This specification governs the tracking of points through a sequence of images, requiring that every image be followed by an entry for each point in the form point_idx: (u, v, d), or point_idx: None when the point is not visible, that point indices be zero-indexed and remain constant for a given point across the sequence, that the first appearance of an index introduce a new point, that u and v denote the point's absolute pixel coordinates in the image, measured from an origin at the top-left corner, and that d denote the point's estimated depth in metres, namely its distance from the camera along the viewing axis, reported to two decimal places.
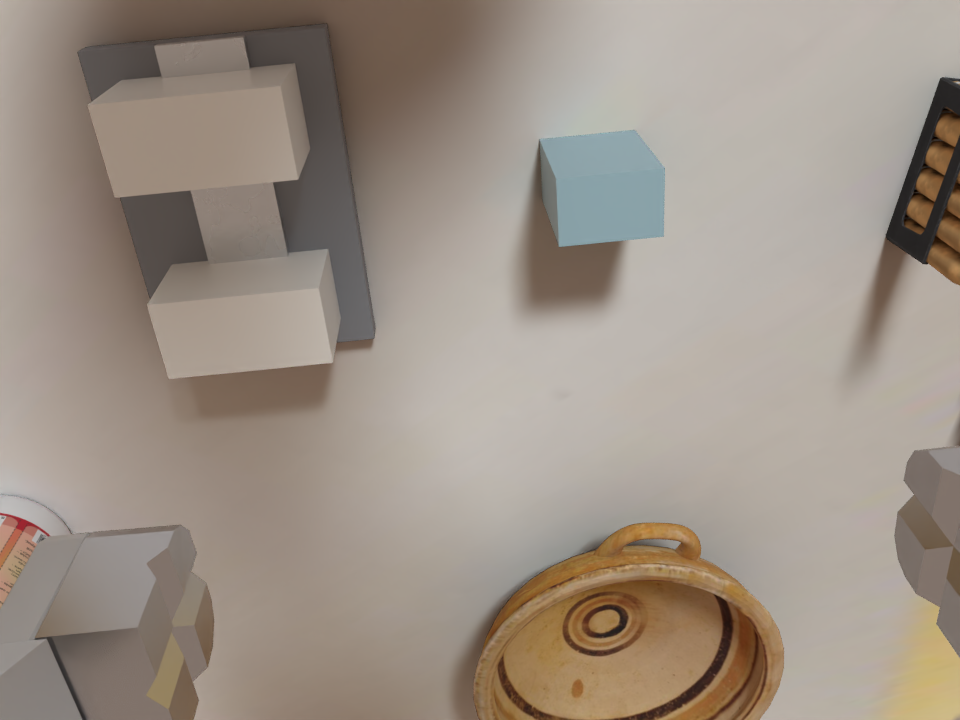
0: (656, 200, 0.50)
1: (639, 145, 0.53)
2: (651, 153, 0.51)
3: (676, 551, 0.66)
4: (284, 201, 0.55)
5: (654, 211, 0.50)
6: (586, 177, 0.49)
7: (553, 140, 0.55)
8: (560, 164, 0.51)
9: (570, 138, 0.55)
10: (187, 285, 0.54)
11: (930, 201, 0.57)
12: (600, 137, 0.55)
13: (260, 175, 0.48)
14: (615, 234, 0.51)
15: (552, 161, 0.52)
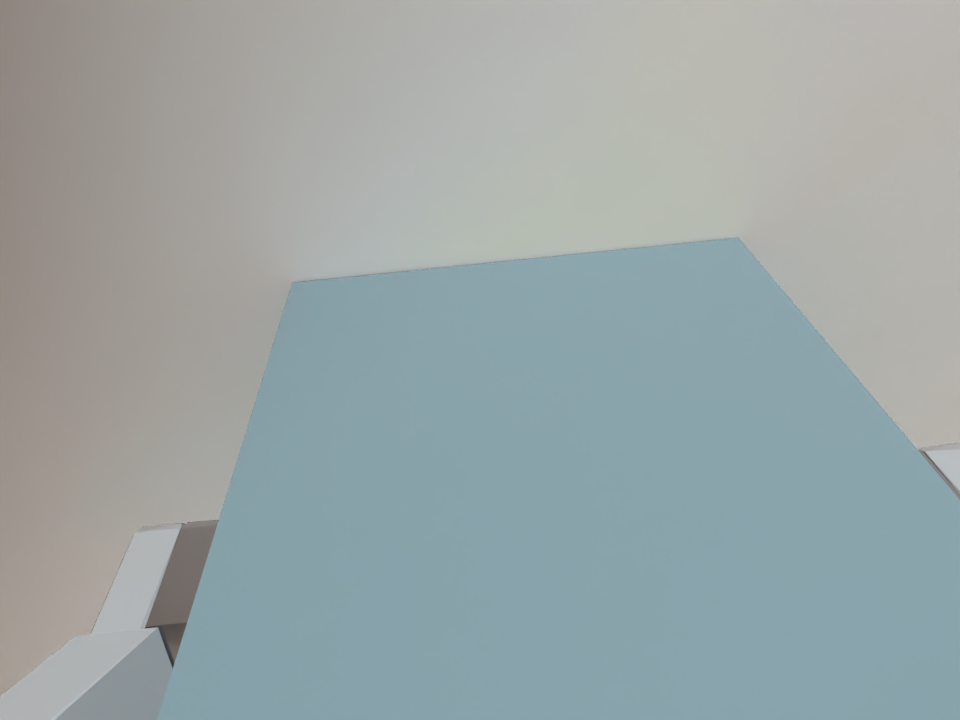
0: None
1: (800, 361, 0.09)
2: (916, 463, 0.07)
3: None
4: None
5: None
6: None
7: (348, 298, 0.11)
8: (279, 556, 0.07)
9: (430, 285, 0.11)
10: None
11: None
12: (577, 283, 0.11)
13: None
14: None
15: (246, 509, 0.08)
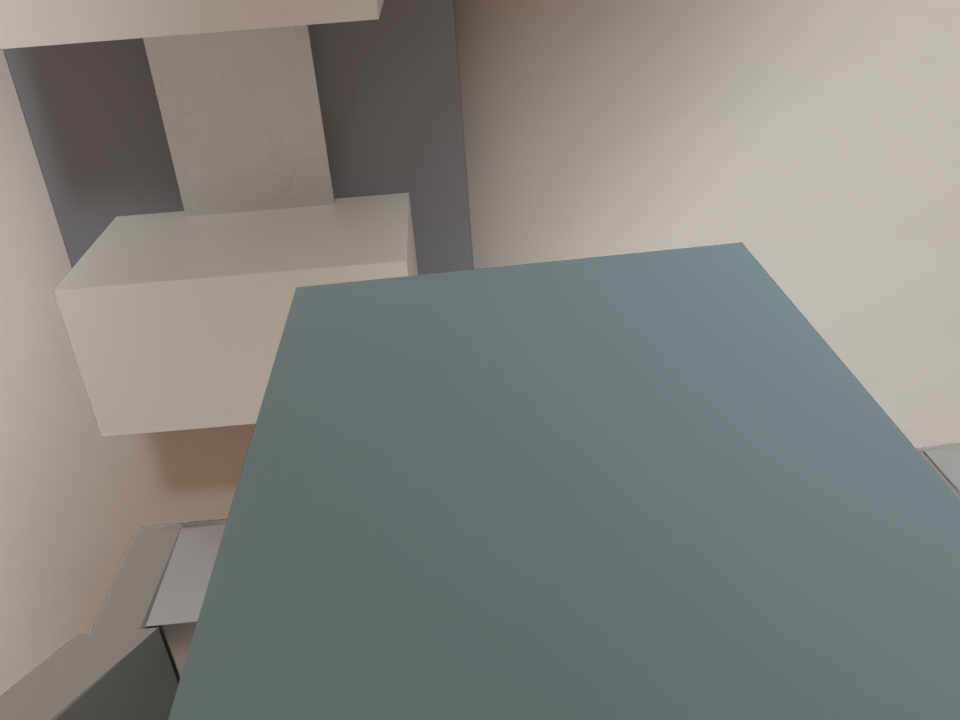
0: None
1: (804, 366, 0.09)
2: (921, 470, 0.07)
3: None
4: (331, 97, 0.29)
5: None
6: None
7: (352, 303, 0.11)
8: (287, 563, 0.07)
9: (434, 291, 0.11)
10: (140, 254, 0.27)
11: None
12: (580, 288, 0.11)
13: (296, 6, 0.22)
14: None
15: (253, 516, 0.08)
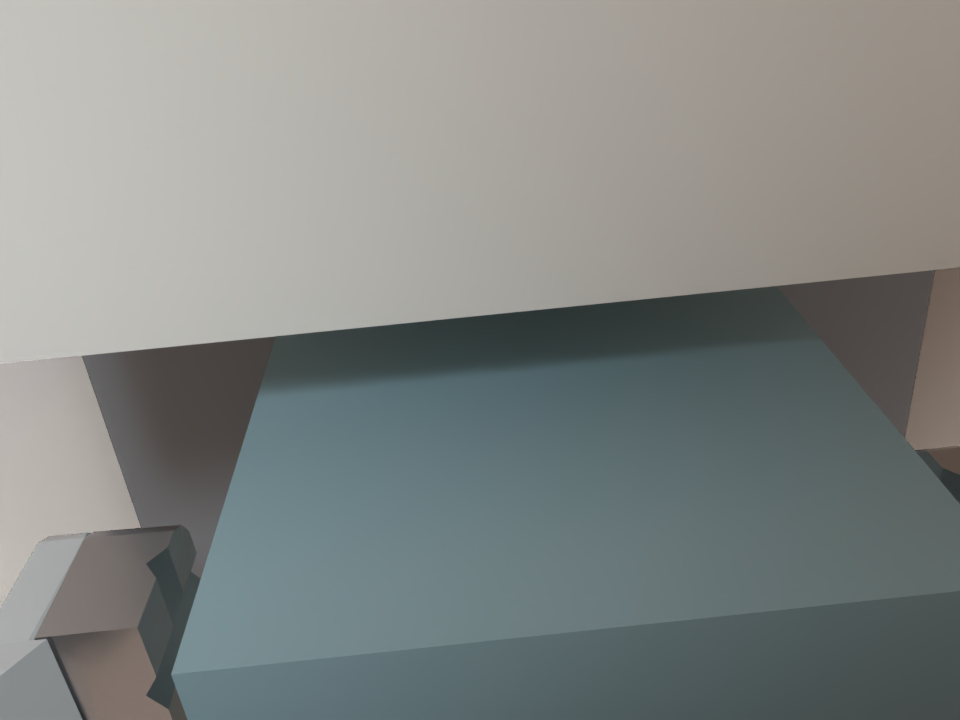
0: None
1: (752, 302, 0.10)
2: (844, 379, 0.09)
3: None
4: None
5: None
6: (410, 659, 0.06)
7: None
8: (300, 455, 0.08)
9: None
10: None
11: None
12: None
13: (892, 228, 0.08)
14: None
15: (270, 422, 0.09)
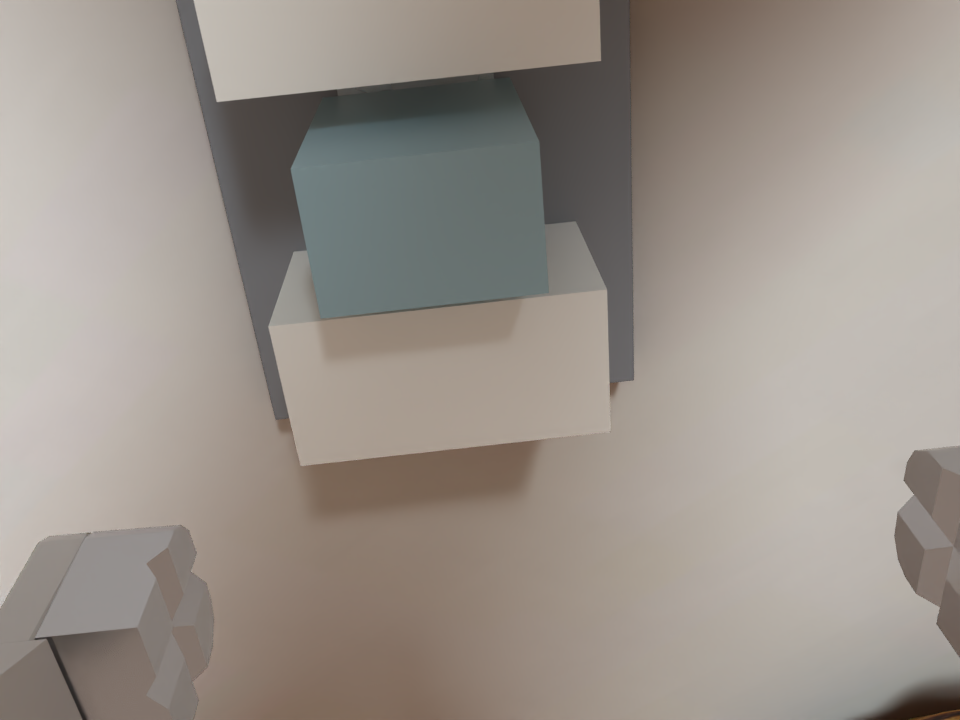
0: (526, 214, 0.22)
1: (505, 100, 0.26)
2: (523, 114, 0.24)
3: None
4: None
5: (523, 239, 0.23)
6: (359, 165, 0.21)
7: (345, 99, 0.28)
8: (325, 139, 0.24)
9: (379, 95, 0.28)
10: None
11: None
12: (437, 91, 0.28)
13: (524, 51, 0.23)
14: (442, 290, 0.23)
15: (313, 135, 0.24)
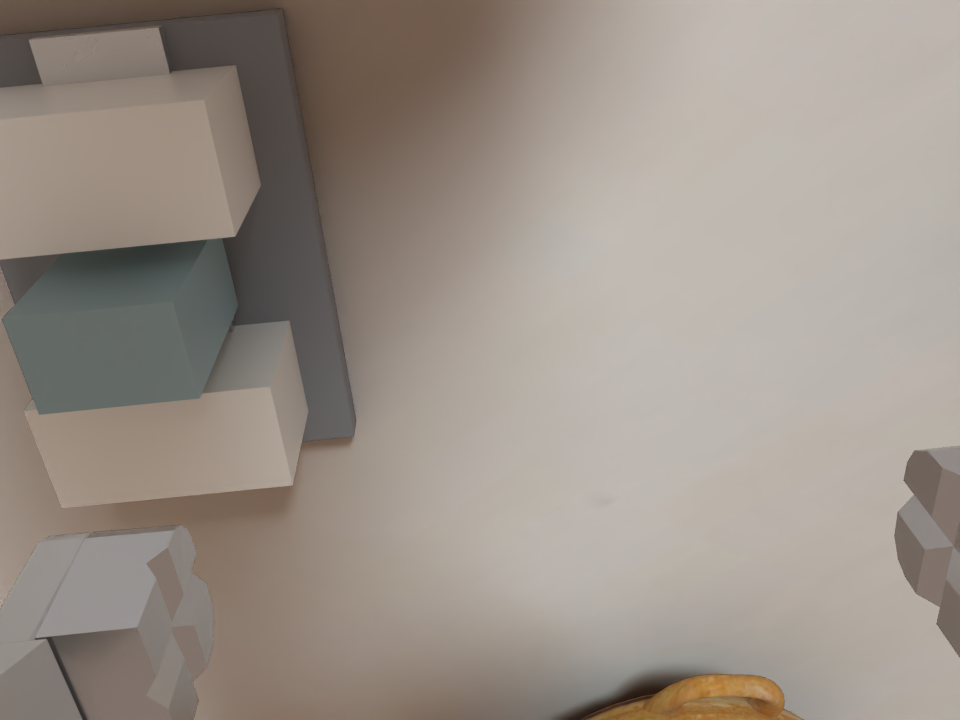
0: (173, 348, 0.32)
1: (191, 252, 0.35)
2: (188, 269, 0.34)
3: (751, 704, 0.51)
4: None
5: (174, 364, 0.33)
6: (49, 316, 0.31)
7: None
8: (45, 287, 0.33)
9: None
10: None
11: None
12: None
13: (179, 230, 0.33)
14: (122, 396, 0.33)
15: (41, 281, 0.34)
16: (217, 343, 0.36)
